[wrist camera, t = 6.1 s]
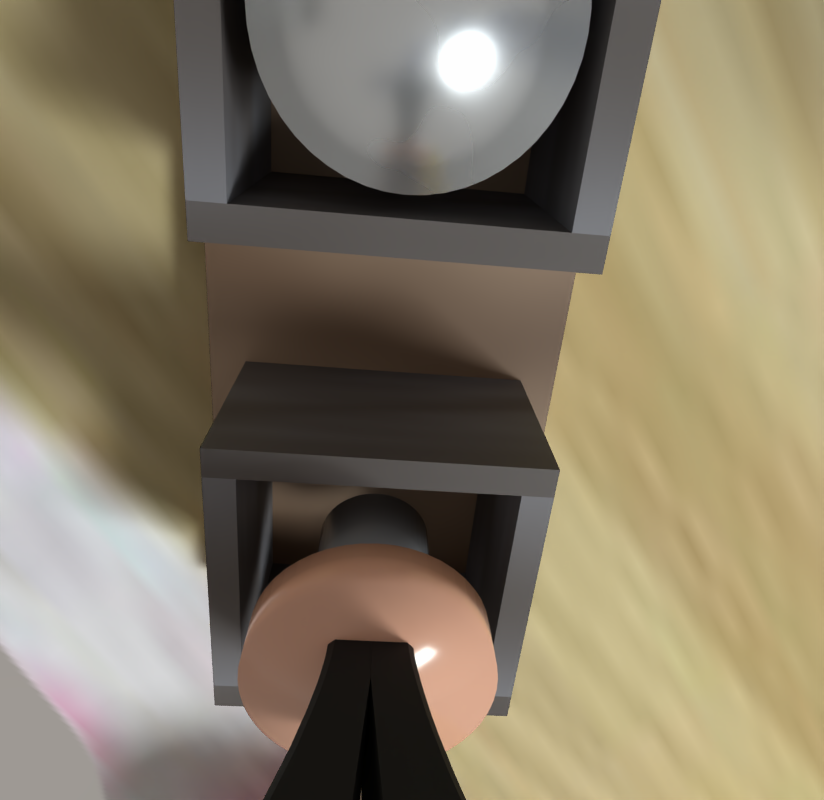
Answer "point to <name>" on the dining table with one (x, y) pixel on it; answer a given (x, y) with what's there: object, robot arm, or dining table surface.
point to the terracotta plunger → (369, 620)
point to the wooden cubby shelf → (388, 327)
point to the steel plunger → (418, 82)
